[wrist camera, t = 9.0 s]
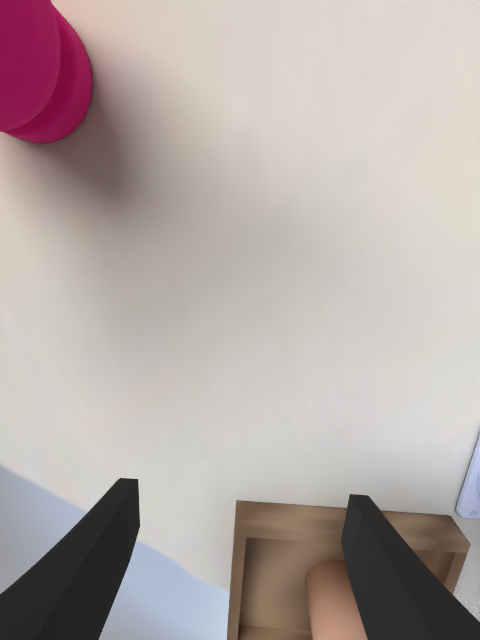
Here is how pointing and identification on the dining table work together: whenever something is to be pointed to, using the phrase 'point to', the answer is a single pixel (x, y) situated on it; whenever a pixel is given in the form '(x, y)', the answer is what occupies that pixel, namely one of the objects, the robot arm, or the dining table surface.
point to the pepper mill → (41, 72)
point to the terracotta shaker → (332, 603)
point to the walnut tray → (313, 561)
